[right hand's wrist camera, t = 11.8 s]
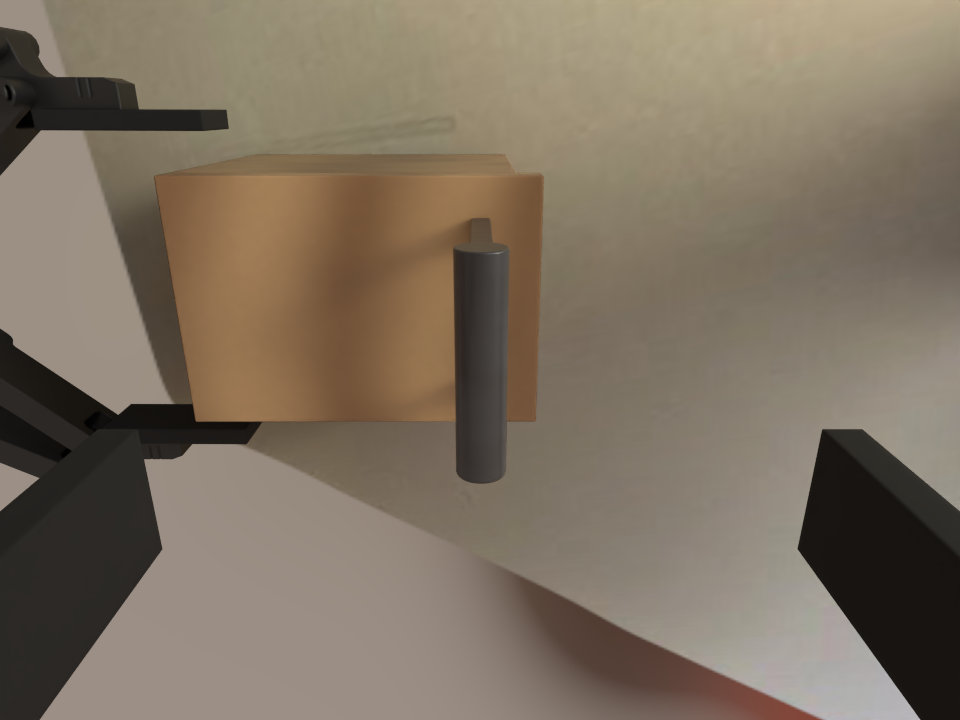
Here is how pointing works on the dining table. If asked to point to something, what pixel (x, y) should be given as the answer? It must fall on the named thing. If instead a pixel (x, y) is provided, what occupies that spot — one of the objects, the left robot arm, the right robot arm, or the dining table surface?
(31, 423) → the left robot arm
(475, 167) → the cabinet
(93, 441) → the right robot arm
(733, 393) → the dining table surface
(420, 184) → the wooden door with handle
